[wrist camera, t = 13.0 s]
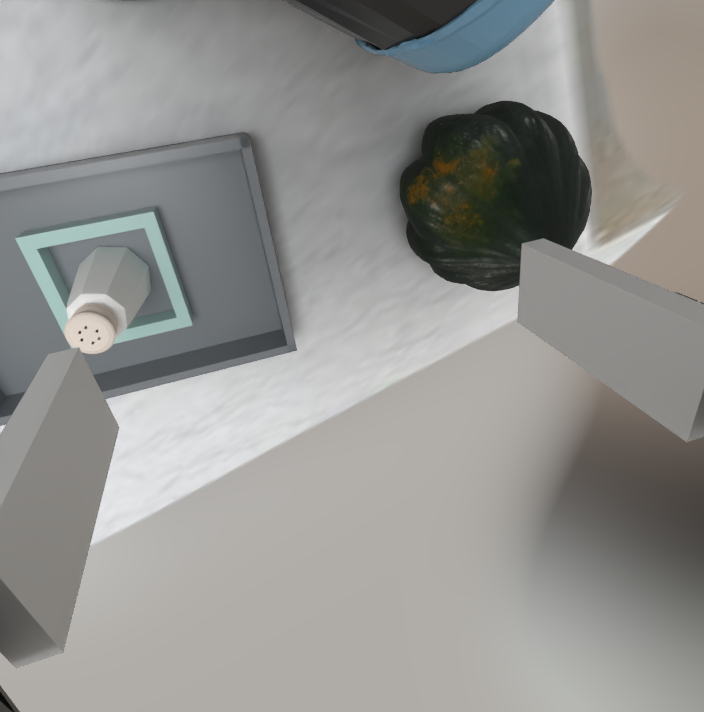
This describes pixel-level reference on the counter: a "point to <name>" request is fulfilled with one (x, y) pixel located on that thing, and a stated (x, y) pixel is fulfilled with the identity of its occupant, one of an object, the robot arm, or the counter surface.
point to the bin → (157, 249)
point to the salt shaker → (105, 298)
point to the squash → (493, 193)
